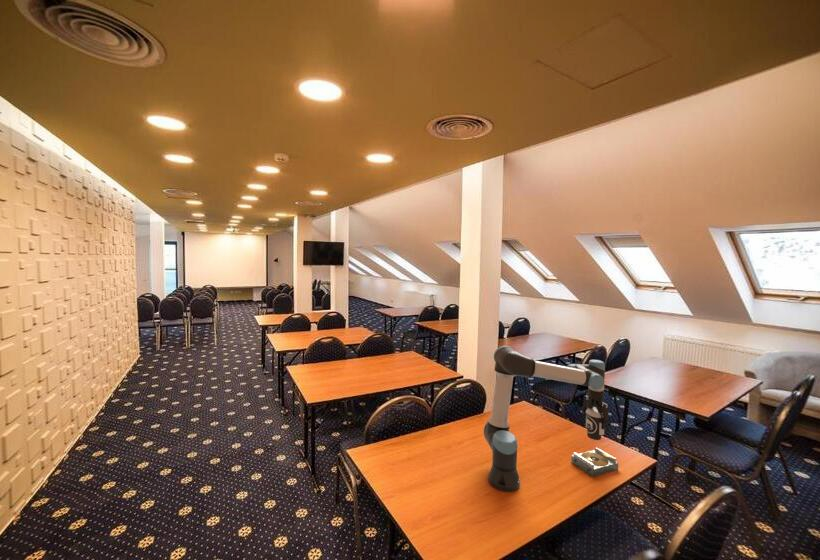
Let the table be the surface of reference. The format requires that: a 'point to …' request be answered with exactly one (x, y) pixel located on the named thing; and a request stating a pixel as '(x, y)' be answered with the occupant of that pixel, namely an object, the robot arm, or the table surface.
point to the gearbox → (595, 462)
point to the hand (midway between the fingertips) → (594, 430)
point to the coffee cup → (593, 423)
